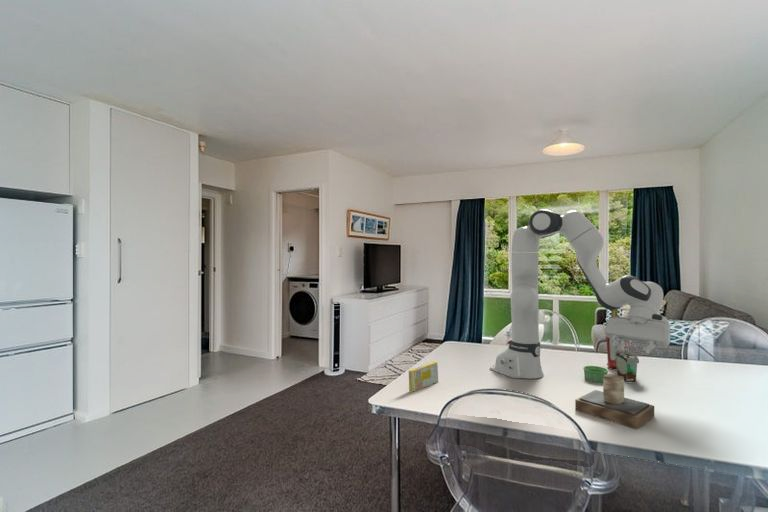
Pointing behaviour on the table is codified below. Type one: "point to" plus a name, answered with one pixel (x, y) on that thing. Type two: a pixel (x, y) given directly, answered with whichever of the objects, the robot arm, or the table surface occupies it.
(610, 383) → the tan cylinder
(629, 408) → the brown flat block
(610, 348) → the liquor
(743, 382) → the table surface
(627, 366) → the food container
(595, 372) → the ramekin
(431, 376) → the candy box
